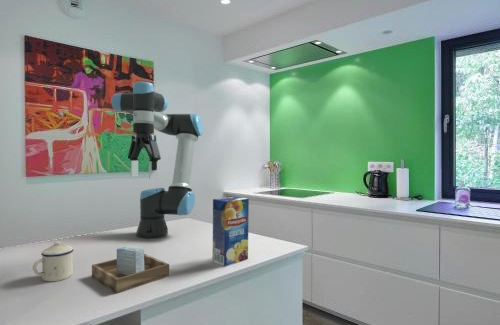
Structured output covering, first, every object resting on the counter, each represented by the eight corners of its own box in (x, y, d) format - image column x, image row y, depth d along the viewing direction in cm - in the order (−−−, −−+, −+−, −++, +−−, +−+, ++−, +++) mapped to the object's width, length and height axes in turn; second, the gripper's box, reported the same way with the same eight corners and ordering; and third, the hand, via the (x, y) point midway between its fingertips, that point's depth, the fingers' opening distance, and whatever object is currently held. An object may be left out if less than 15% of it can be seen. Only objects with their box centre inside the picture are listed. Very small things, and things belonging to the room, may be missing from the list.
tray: (91, 276, 105) (91, 264, 105) (141, 263, 118) (141, 252, 118) (116, 293, 93) (116, 279, 93) (169, 276, 106) (169, 264, 106)
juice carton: (224, 266, 116) (225, 201, 115) (212, 261, 121) (212, 199, 120) (248, 259, 124) (248, 198, 123) (235, 254, 130) (236, 196, 129)
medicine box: (144, 272, 106) (144, 247, 106) (135, 277, 102) (135, 251, 102) (125, 269, 109) (125, 244, 109) (116, 274, 105) (116, 248, 105)
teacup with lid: (63, 269, 111) (63, 236, 111) (79, 275, 107) (79, 240, 106) (25, 281, 101) (25, 245, 100) (41, 287, 96) (40, 250, 96)
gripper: (118, 123, 127) (118, 176, 128) (152, 120, 111) (152, 180, 111) (136, 125, 133) (136, 175, 133) (170, 121, 116) (170, 179, 117)
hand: (143, 177), depth 122 cm, fingers open, 13 cm apart
